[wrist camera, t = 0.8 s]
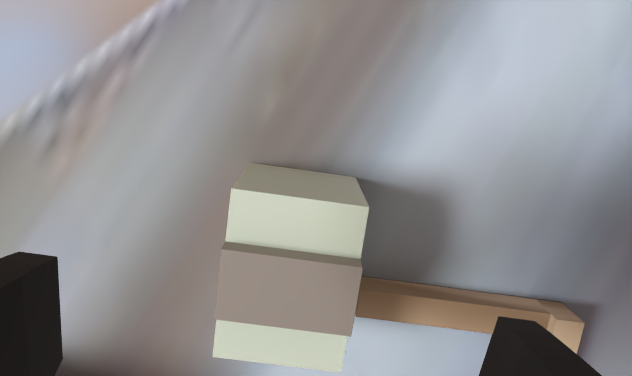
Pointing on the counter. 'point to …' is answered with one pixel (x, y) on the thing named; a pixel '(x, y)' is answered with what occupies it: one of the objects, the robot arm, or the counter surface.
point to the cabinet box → (290, 268)
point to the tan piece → (462, 308)
